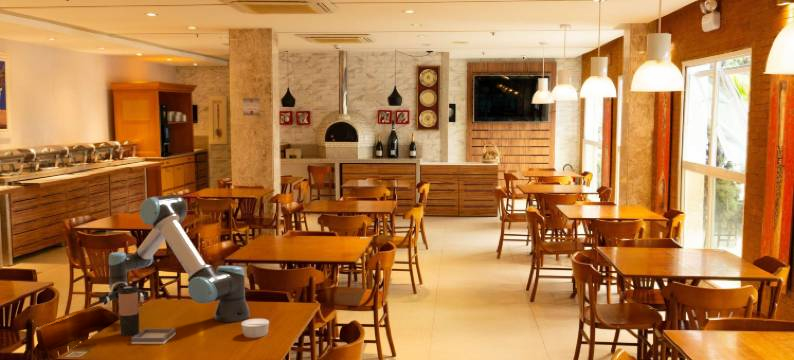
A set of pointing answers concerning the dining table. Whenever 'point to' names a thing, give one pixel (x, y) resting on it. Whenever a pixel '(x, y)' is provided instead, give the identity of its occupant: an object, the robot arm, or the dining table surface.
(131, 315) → the travel mug
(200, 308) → the dining table surface
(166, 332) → the mug dock
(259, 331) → the ramekin
